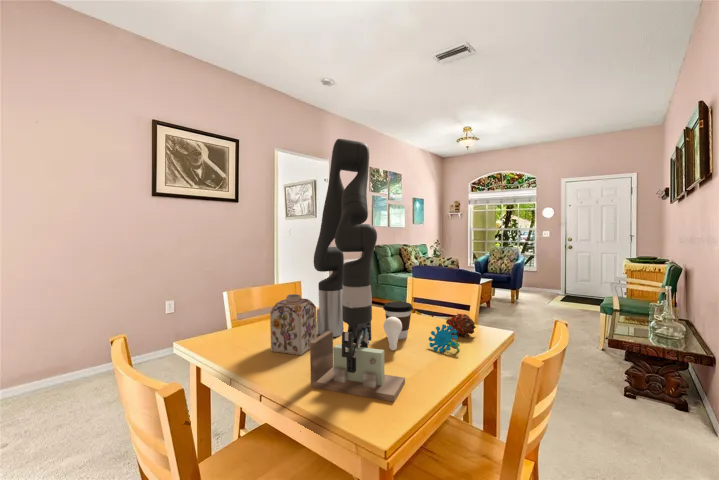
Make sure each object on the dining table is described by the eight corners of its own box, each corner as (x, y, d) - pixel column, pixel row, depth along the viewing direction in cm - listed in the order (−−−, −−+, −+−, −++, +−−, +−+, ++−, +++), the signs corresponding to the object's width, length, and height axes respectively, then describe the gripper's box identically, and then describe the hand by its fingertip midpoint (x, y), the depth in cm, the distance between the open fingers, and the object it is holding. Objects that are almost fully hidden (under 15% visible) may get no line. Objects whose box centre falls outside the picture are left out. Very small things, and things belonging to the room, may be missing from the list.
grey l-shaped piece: (310, 386, 87) (310, 342, 86) (328, 371, 96) (327, 330, 96) (394, 401, 78) (393, 352, 78) (404, 383, 88) (404, 339, 87)
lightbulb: (390, 354, 108) (389, 320, 107) (380, 348, 113) (379, 316, 113) (406, 351, 110) (405, 317, 110) (395, 345, 116) (395, 313, 115)
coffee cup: (379, 339, 122) (379, 306, 122) (388, 330, 133) (388, 300, 132) (409, 343, 118) (409, 308, 118) (416, 333, 128) (416, 302, 128)
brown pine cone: (475, 343, 121) (447, 340, 131) (484, 325, 126) (457, 323, 135) (464, 327, 119) (437, 324, 128) (473, 309, 123) (446, 308, 133)
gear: (421, 342, 114) (438, 319, 117) (429, 351, 117) (445, 328, 120) (447, 357, 105) (464, 331, 108) (454, 366, 108) (471, 341, 111)
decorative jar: (288, 340, 123) (287, 291, 122) (317, 344, 119) (317, 292, 118) (269, 352, 112) (268, 297, 111) (300, 356, 108) (299, 299, 107)
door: (331, 379, 87) (331, 349, 87) (337, 373, 91) (337, 344, 90) (379, 388, 82) (379, 355, 82) (384, 381, 86) (384, 350, 85)
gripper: (354, 296, 94) (355, 354, 95) (331, 307, 81) (332, 374, 82) (379, 298, 92) (380, 357, 92) (360, 310, 78) (361, 379, 79)
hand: (357, 365), depth 87 cm, fingers open, 8 cm apart
